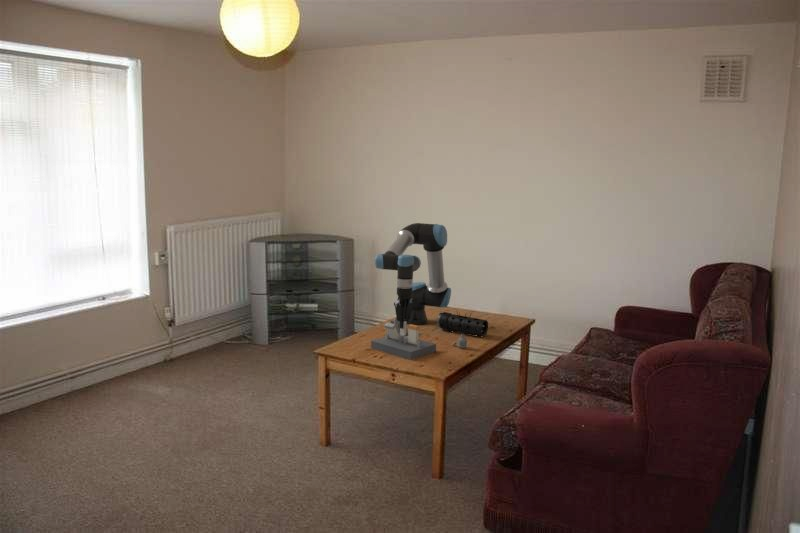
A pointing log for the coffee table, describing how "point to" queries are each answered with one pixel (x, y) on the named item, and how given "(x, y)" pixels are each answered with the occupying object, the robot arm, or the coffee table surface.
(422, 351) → the breaker panel
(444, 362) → the coffee table surface
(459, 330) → the muzzle brake
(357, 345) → the coffee table surface
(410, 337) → the breaker
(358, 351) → the coffee table surface
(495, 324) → the coffee table surface
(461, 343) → the reed diffuser
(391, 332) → the breaker
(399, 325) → the electrical switch
